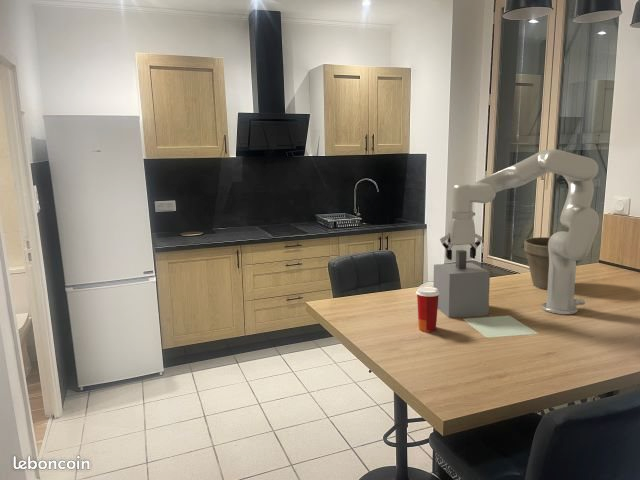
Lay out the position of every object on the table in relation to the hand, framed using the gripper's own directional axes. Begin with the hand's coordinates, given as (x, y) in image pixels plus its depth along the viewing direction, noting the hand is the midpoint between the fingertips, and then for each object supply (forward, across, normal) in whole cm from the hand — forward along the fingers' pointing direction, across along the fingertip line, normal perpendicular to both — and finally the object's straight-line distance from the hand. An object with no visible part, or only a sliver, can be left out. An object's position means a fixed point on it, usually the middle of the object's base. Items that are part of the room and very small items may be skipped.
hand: (460, 258), depth 181 cm
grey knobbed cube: (+22, 0, 0) cm, 22 cm away
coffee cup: (+22, +20, +17) cm, 34 cm away
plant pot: (+22, -56, -24) cm, 65 cm away
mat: (+22, -6, +20) cm, 30 cm away
